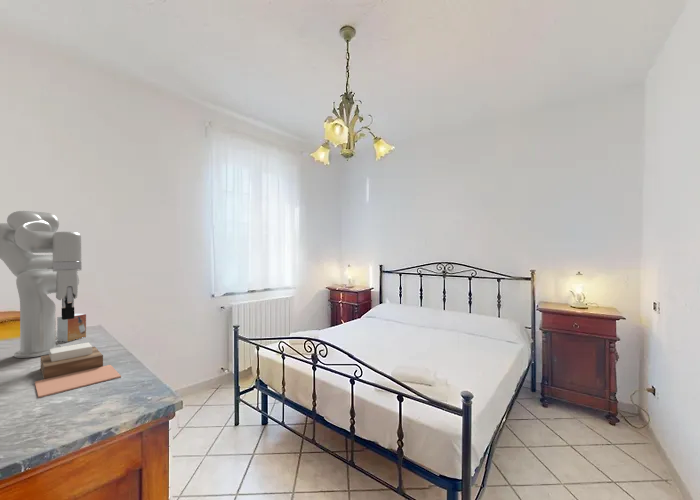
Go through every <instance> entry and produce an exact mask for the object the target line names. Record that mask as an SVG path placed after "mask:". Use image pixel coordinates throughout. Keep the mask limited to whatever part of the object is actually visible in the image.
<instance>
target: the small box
mask: <svg viewBox="0 0 700 500" xmlns="http://www.w3.org/2000/svg"><path fill="white" fill-rule="evenodd" d="M56 319H57V323H56V325H57V328H56V329H57V330H56V331H57V336H56V337H57V340H56V341H57V342H62V341H63V342H65V343H67V342H68V343H69V342H71V341H76V340H79V338H80V339H83V338H82V337H85V338H86V337H87V314H86V313H74V318H73V319H66V320H62V316H58V317H57V318H56ZM75 339H76V340H75ZM63 342H62V343H63Z"/></svg>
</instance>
